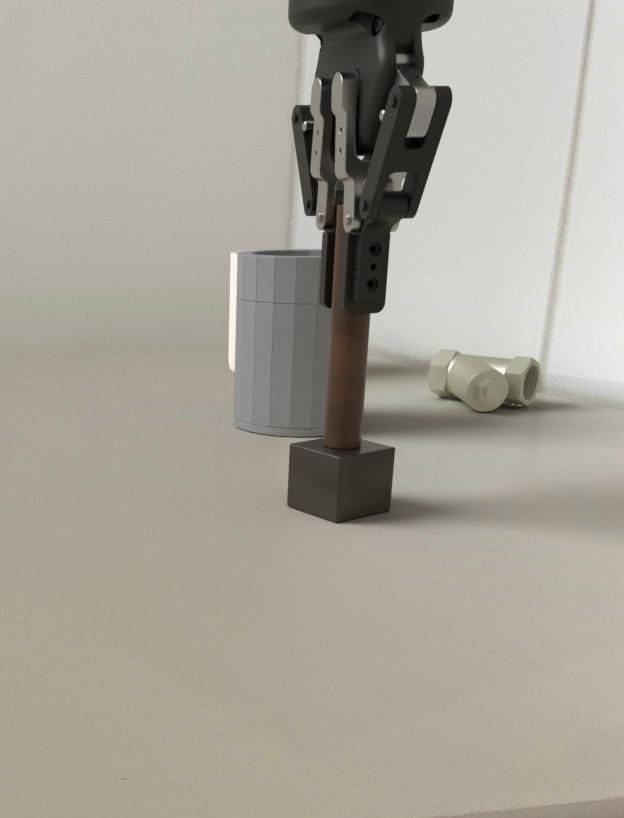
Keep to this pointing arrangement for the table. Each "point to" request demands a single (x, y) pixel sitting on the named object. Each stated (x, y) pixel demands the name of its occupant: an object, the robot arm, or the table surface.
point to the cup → (280, 343)
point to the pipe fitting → (484, 379)
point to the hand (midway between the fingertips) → (350, 308)
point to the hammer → (342, 427)
